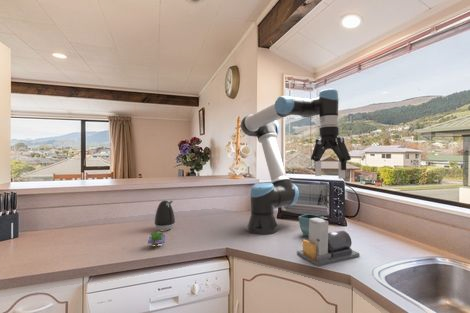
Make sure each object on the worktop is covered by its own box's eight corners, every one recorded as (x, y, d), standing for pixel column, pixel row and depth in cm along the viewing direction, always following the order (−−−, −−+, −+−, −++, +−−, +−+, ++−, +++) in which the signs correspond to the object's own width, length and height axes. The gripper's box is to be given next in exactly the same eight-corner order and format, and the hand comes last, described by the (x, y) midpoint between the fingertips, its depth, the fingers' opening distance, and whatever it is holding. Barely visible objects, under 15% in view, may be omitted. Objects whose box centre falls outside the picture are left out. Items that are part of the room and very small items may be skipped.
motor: (297, 254, 95) (297, 232, 94) (337, 246, 102) (337, 226, 102) (316, 265, 84) (316, 242, 84) (359, 256, 92) (359, 234, 92)
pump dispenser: (179, 228, 129) (179, 199, 129) (164, 234, 121) (163, 203, 121) (166, 225, 135) (165, 198, 135) (150, 230, 126) (150, 201, 126)
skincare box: (307, 250, 93) (307, 218, 93) (317, 248, 95) (316, 217, 95) (319, 256, 88) (319, 222, 88) (329, 254, 89) (328, 220, 89)
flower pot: (307, 231, 122) (307, 213, 122) (324, 235, 116) (324, 216, 116) (298, 235, 116) (298, 216, 116) (315, 240, 110) (315, 220, 110)
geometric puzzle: (163, 246, 99) (164, 226, 103) (145, 247, 97) (147, 227, 102) (165, 251, 104) (166, 232, 109) (148, 252, 103) (150, 233, 108)
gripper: (302, 129, 114) (303, 175, 114) (345, 122, 91) (346, 180, 91) (315, 129, 116) (316, 174, 117) (360, 123, 93) (361, 179, 93)
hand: (329, 177), depth 104 cm, fingers open, 13 cm apart
